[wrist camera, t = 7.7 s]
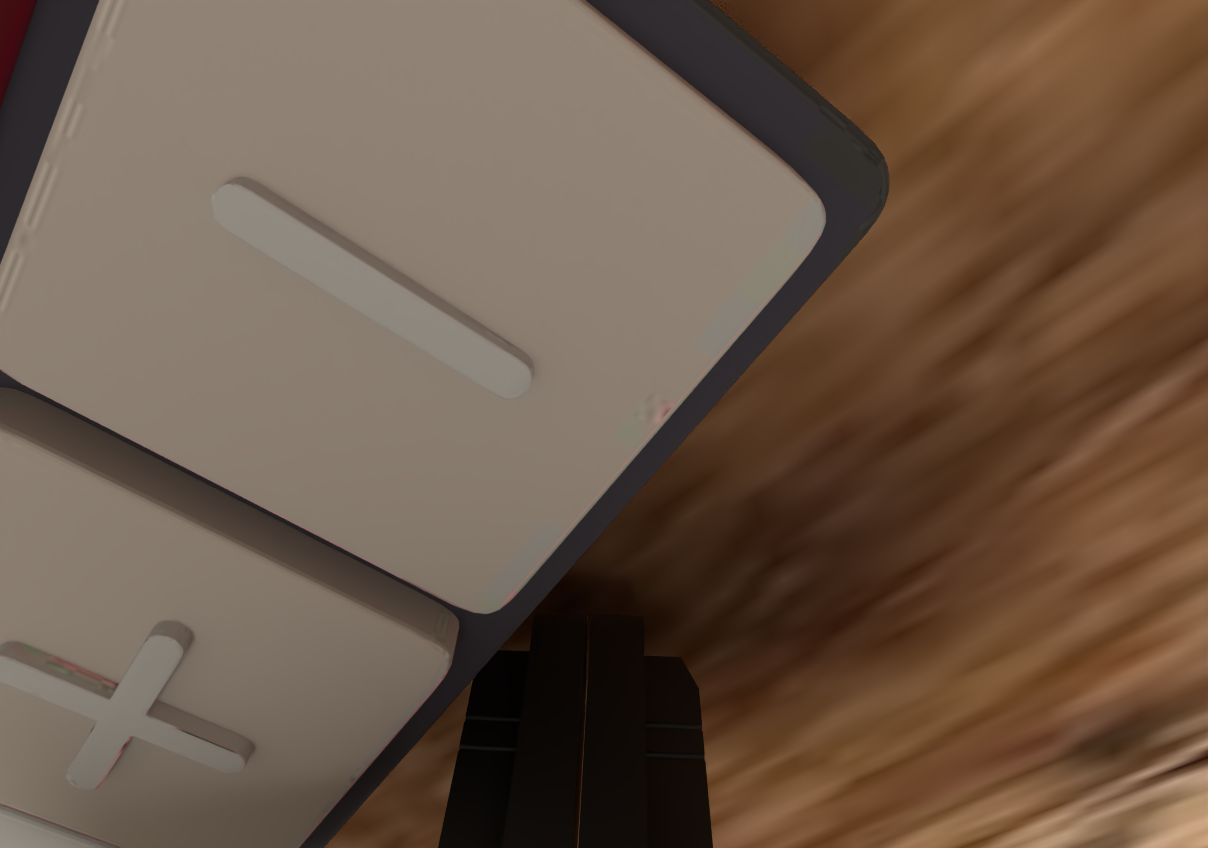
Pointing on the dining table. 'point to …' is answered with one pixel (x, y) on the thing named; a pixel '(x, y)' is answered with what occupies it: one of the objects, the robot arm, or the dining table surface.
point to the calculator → (351, 365)
